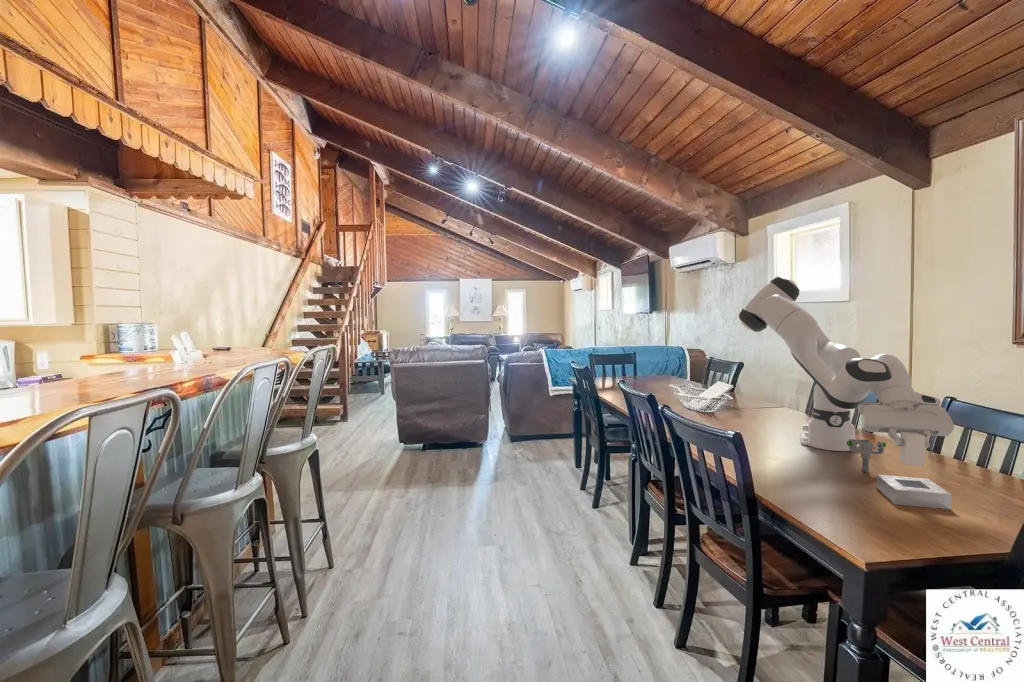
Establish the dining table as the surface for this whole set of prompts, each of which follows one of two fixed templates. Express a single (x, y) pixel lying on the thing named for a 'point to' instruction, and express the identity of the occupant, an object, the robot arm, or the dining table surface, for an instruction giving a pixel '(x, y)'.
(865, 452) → the mechanical component
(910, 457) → the plug
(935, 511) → the dining table surface
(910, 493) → the grey square socket base
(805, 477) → the dining table surface
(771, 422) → the dining table surface
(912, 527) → the dining table surface
